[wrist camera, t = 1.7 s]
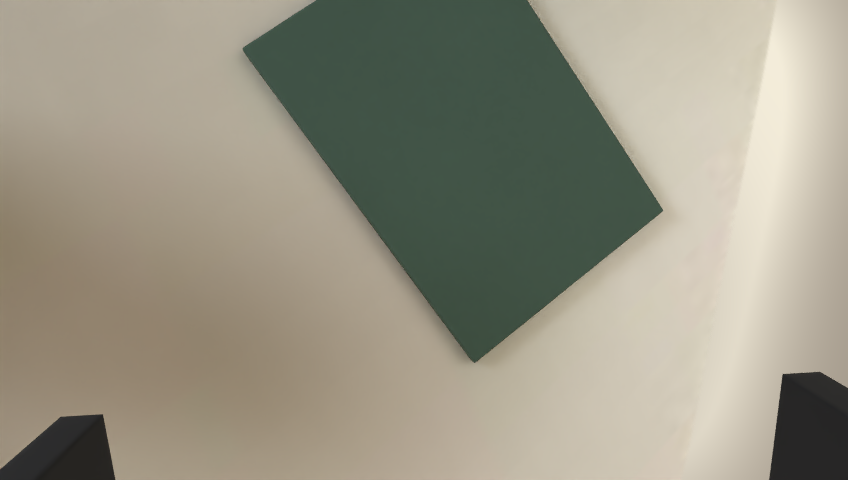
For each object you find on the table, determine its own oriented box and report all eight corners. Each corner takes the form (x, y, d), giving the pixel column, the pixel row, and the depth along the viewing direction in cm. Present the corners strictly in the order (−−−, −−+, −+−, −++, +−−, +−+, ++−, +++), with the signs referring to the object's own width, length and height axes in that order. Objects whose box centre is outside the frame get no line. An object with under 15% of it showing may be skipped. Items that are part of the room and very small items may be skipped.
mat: (243, 52, 26) (241, 47, 25) (462, -90, 28) (464, -97, 27) (471, 360, 28) (474, 363, 28) (657, 211, 30) (664, 210, 30)
